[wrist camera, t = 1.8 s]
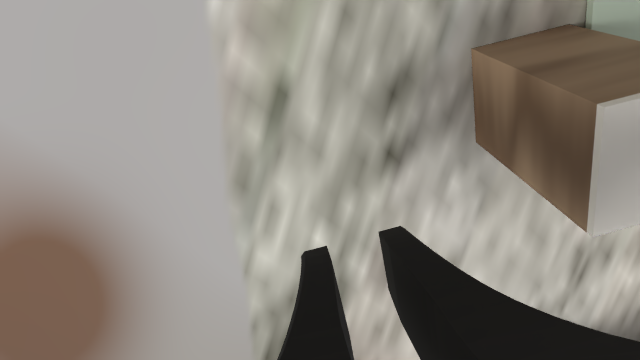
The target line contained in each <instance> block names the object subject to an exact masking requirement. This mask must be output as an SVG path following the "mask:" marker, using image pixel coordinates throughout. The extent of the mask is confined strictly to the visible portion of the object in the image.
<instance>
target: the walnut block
mask: <svg viewBox="0 0 640 360" xmlns="http://www.w3.org/2000/svg"><path fill="white" fill-rule="evenodd" d="M471 51H472V71H473V91H474V111H475V131H476V142H477V143H478V144H479V145H480V146H482V147H483V148H484V149H485V150H486V151H488V152H489V153H490V154H491V155H493V156H494V157H495V158H496V159H497V160H499V161H500V162H501V163H502V164H504V165H505V166H506V167H507V168H508V169H510V170H511V171H512V172H513V173H515V174H516V175H517V176H518V177H519V178H521V179H522V180H523V181H524V182H526V183H527V184H528V185H529V186H530V187H532V188H533V189H534V190H535V191H537V192H538V193H539V194H540V195H541V196H543V197H544V198H545V199H546V200H548V201H549V202H550V203H551V204H552V205H554V206H555V207H556V208H557V209H559V210H560V211H561V212H562V213H563V214H565V215H566V216H567V217H568V218H570V219H571V220H572V221H573V222H574V223H576V224H577V225H578V226H579V227H581V228H582V229H583V230H584V231H585V232H587V233H588V234H589V235H590V236H592V237H596V236H600V235H604V234H607V233H611V232H615V231H618V230H622V229H626V228H629V227H633V226H636V225H640V41H637V40H633V39H628V38H624V37H620V36H616V35H612V34H608V33H603V32H599V31H595V30H591V29H587V28H583V27H578V26H574V25H570V24H568V25H564V26H560V27H556V28H552V29H548V30H544V31H540V32H536V33H532V34H528V35H524V36H520V37H516V38H512V39H508V40H504V41H500V42H496V43H492V44H488V45H484V46H480V47H476V48H472V49H471Z"/></svg>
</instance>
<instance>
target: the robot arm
mask: <svg viewBox="0 0 640 360" xmlns="http://www.w3.org/2000/svg"><path fill="white" fill-rule="evenodd" d="M379 237H380V243H381V248H382V254H383V260H384V265H385V271H386V277H387V283H388V288H389V292H390V294H391V297H392V300H393V302H394V305H395V308H396V310H397V313H398V315H399V318H400V320H401V323H402V325H403V327H404V329H405V330H406V332H407V334H408V336H409V338H410V340H411V342H412V344H413V346H414V348H415V350H416V352H417V353H418V355H419V357H420V359H421V360H640V342H638V341H634V340H630V339H626V338H622V337H618V336H614V335H610V334H606V333H603V332H600V331H596V330H593V329H590V328H587V327H584V326H581V325H578V324H574V323H572V322H569V321H566V320H563V319H560V318H557V317H555V316H552V315H550V314H547V313H545V312H542V311H540V310H537V309H535V308H532V307H530V306H527V305H525V304H523V303H521V302H518V301H516V300H514V299H512V298H510V297H508V296H506V295H504V294H502V293H500V292H498V291H496V290H494V289H492V288H490V287H488V286H487V285H485V284H483V283H481V282H480V281H478V280H476V279H475V278H473V277H471V276H470V275H468V274H466V273H465V272H463V271H462V270H460V269H459V268H457V267H456V266H454V265H453V264H451V263H450V262H448V261H447V260H445V259H444V258H442V257H441V256H440V255H438V254H437V253H435V252H434V251H433V250H431V249H430V248H429V247H427V246H426V245H425V244H423V243H422V242H421V241H420V240H418V239H417V238H416V237H414V236H413V235H412V234H411V233H410V232H408V231H407V230H406V229H405V228H403V227H401V226H399V227H395V228H391V229H387V230H384V231H380V232H379ZM301 260H302V264H301V276H300V283H299V289H298V293H297V298H296V303H295V307H294V311H293V315H292V318H291V322H290V325H289V328H288V332H287V335H286V338H285V341H284V344H283V346H282V349H281V352H280V354H279V357H278V359H277V360H354V357H353V351H352V346H351V340H350V335H349V331H348V327H347V323H346V319H345V314H344V310H343V306H342V302H341V298H340V294H339V290H338V286H337V281H336V277H335V273H334V269H333V265H332V261H331V258H330V255H329V252H328V249H327V246H324V247H320V248H316V249H313V250H309V251H305V252H304V253H303V254H302V256H301Z"/></svg>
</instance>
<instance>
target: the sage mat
mask: <svg viewBox="0 0 640 360" xmlns="http://www.w3.org/2000/svg"><path fill="white" fill-rule="evenodd" d="M585 28H587V29H591V30H595V31H599V32H603V33H608V34H612V35H616V36H620V37H624V38H628V39H633V40H637V41H640V0H587V10H586V25H585Z"/></svg>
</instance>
